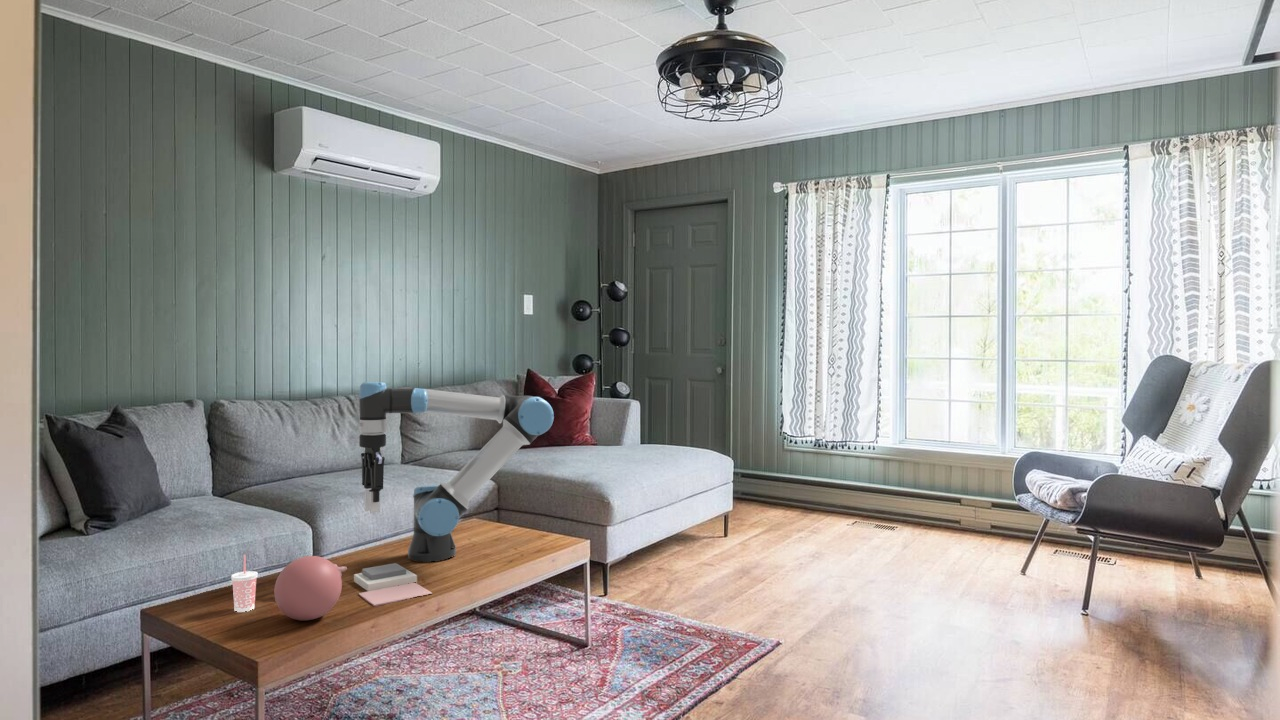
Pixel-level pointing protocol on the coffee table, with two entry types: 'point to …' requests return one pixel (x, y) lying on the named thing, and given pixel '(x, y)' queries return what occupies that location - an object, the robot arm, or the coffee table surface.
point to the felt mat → (394, 594)
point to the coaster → (383, 571)
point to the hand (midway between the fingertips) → (372, 511)
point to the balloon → (308, 587)
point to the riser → (384, 581)
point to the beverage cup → (244, 589)
